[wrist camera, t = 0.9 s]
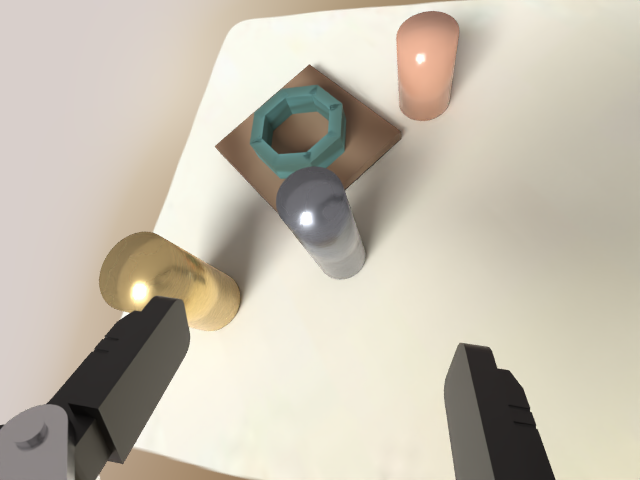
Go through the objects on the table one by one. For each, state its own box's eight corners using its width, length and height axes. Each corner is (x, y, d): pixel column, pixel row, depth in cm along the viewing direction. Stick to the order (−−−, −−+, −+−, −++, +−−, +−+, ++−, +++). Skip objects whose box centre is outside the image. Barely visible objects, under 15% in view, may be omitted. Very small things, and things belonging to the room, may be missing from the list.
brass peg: (219, 261, 37) (148, 216, 27) (251, 302, 35) (186, 270, 24) (176, 300, 36) (87, 269, 26) (205, 344, 34) (120, 328, 24)
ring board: (311, 72, 43) (303, 46, 39) (400, 138, 37) (400, 114, 34) (219, 152, 42) (203, 132, 38) (297, 233, 36) (285, 217, 33)
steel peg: (343, 224, 35) (312, 154, 24) (375, 255, 33) (359, 195, 22) (308, 256, 35) (262, 199, 24) (339, 289, 33) (305, 244, 22)
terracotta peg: (422, 73, 39) (425, 2, 32) (460, 96, 37) (472, 27, 30) (388, 103, 39) (383, 39, 32) (424, 129, 37) (428, 67, 30)
